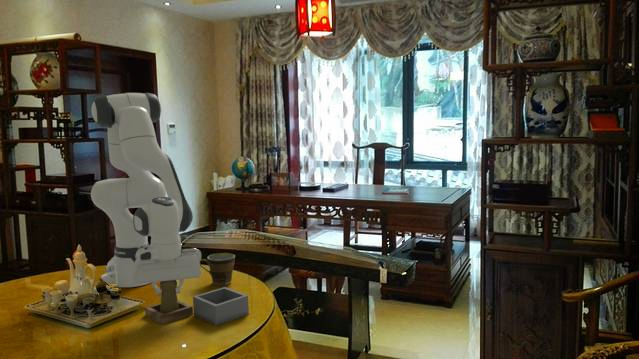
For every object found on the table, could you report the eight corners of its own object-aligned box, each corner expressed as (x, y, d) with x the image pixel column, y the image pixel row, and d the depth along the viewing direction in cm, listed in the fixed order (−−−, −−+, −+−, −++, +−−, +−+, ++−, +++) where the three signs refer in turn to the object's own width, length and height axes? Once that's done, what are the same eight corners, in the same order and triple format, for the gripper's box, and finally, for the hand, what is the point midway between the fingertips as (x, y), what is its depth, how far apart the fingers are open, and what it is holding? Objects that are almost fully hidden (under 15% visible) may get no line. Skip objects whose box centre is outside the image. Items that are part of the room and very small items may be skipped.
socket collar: (145, 315, 160) (145, 307, 160) (175, 306, 168) (175, 298, 167) (162, 324, 153) (162, 316, 153) (192, 314, 160) (192, 306, 160)
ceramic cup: (235, 277, 196) (234, 252, 195) (236, 286, 186) (235, 259, 185) (200, 280, 194) (199, 254, 192) (199, 288, 184) (198, 261, 183)
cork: (181, 314, 160) (179, 280, 158) (161, 318, 157) (159, 283, 156) (177, 308, 165) (176, 274, 164) (158, 311, 162) (156, 277, 161)
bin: (193, 315, 160) (192, 296, 159) (225, 304, 168) (225, 286, 168) (216, 325, 151) (215, 306, 151) (248, 314, 160) (248, 295, 159)
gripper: (200, 245, 164) (202, 286, 166) (132, 250, 158) (134, 293, 160) (201, 250, 158) (203, 293, 160) (130, 256, 152) (133, 301, 154)
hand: (168, 293), depth 160 cm, fingers closed on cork, 4 cm apart
